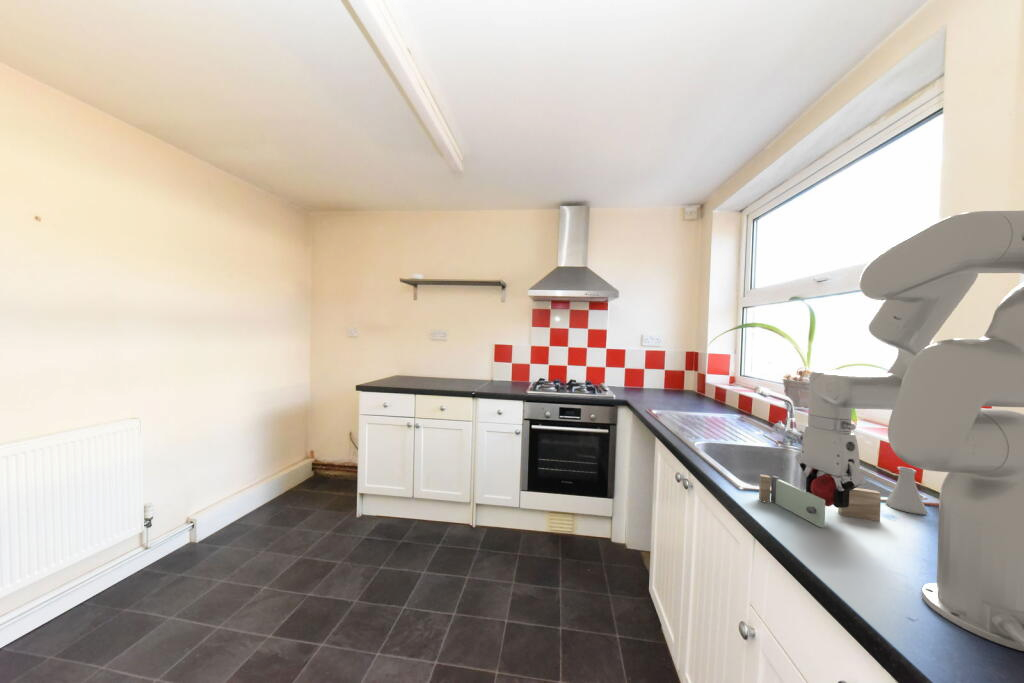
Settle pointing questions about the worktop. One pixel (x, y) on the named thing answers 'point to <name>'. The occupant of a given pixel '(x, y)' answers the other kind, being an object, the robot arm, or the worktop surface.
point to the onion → (824, 488)
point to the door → (798, 501)
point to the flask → (906, 493)
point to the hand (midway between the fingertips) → (826, 499)
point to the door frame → (859, 506)
